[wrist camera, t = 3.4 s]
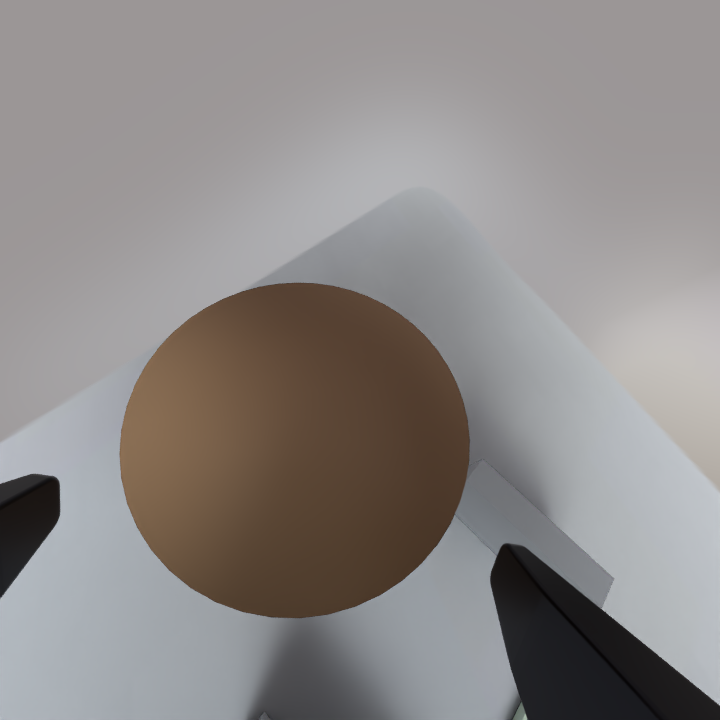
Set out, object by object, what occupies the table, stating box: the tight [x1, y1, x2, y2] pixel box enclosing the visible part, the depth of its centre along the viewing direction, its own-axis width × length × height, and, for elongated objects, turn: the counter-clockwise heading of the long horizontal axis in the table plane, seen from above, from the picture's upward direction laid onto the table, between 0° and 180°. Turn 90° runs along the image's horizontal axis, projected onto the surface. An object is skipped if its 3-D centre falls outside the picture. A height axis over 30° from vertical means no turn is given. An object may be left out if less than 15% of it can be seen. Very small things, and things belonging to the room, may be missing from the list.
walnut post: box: [120, 283, 470, 618], centre depth 11 cm, size 5×5×12 cm
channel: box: [258, 459, 614, 720], centre depth 13 cm, size 12×6×4 cm, turn 136°
